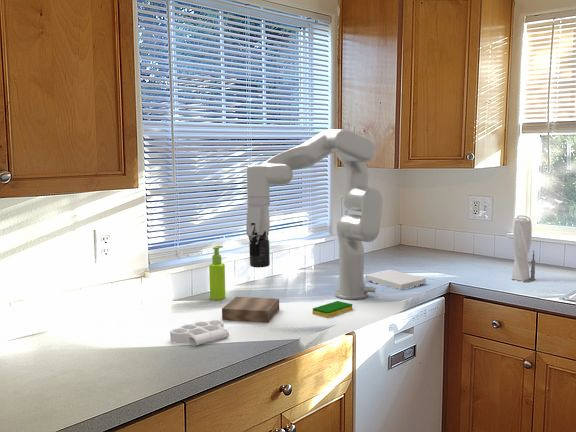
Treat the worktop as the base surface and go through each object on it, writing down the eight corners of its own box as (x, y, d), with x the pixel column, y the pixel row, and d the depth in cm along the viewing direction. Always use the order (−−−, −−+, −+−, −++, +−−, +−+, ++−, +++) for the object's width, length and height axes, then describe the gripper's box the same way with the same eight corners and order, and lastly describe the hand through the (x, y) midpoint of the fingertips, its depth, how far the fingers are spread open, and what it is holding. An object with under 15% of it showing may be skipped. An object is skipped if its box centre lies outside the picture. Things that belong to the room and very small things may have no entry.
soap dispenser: (229, 296, 234) (227, 245, 231) (221, 300, 227) (220, 248, 225) (215, 294, 236) (214, 244, 233) (207, 299, 229) (206, 247, 227)
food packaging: (425, 286, 249) (389, 276, 265) (425, 278, 249) (390, 269, 265) (400, 292, 240) (365, 282, 256) (401, 284, 240) (365, 274, 256)
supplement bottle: (272, 264, 206) (272, 230, 205) (265, 268, 200) (264, 232, 199) (254, 263, 209) (253, 229, 207) (246, 267, 202) (245, 232, 201)
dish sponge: (311, 315, 209) (311, 308, 208) (337, 307, 218) (337, 300, 218) (327, 319, 204) (327, 312, 203) (353, 310, 213) (353, 304, 213)
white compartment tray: (186, 351, 174) (162, 338, 185) (238, 337, 185) (212, 326, 196) (186, 339, 173) (162, 328, 185) (237, 327, 185) (212, 316, 196)
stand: (279, 309, 214) (279, 298, 214) (268, 322, 199) (268, 311, 198) (236, 307, 218) (236, 296, 217) (222, 320, 202) (221, 308, 202)
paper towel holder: (525, 283, 250) (528, 216, 246) (507, 280, 256) (509, 214, 252) (535, 280, 255) (538, 214, 252) (517, 276, 261) (519, 213, 258)
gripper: (258, 199, 211) (259, 249, 213) (237, 203, 195) (238, 257, 197) (278, 199, 209) (278, 250, 211) (258, 204, 192) (259, 259, 195)
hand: (259, 253), depth 204 cm, fingers closed on supplement bottle, 6 cm apart
